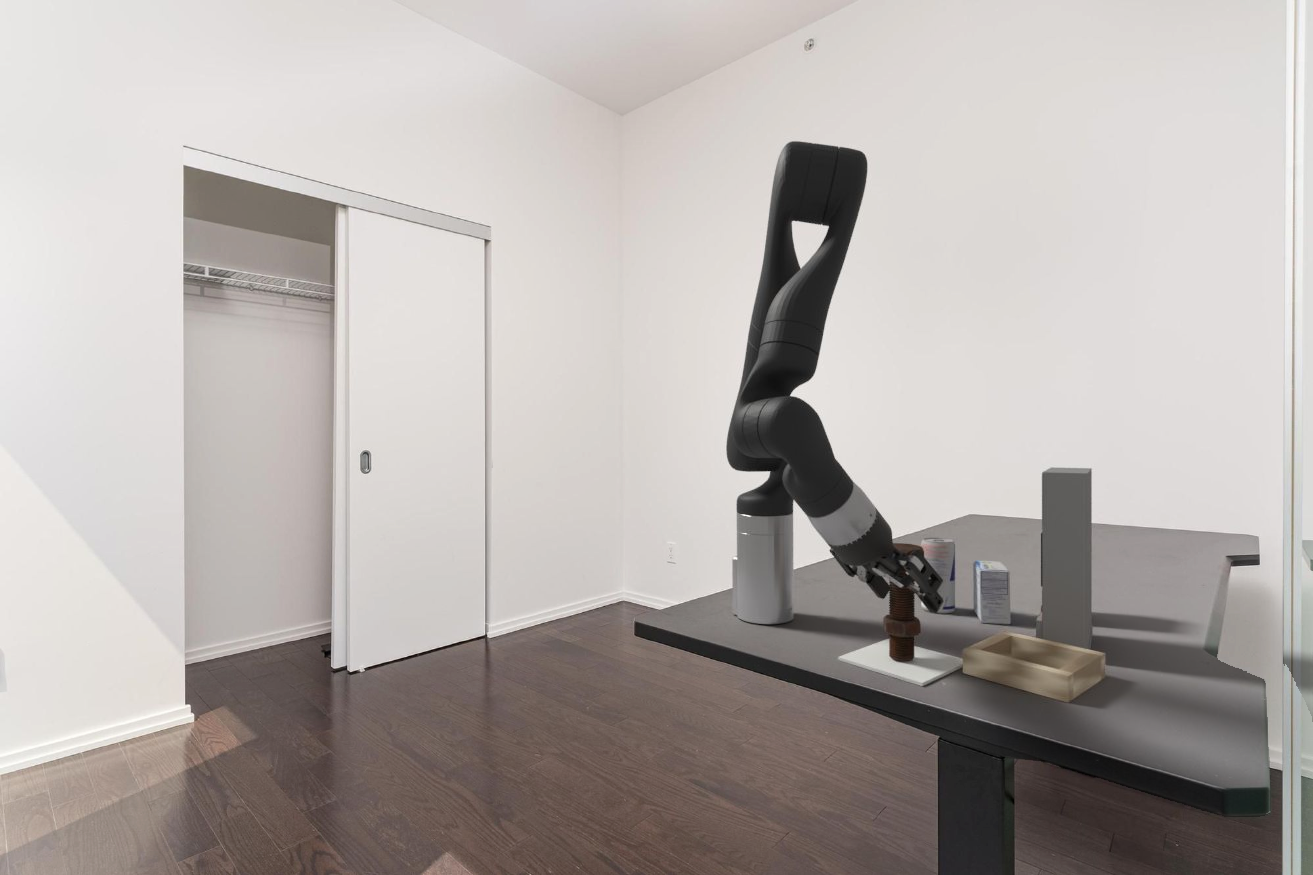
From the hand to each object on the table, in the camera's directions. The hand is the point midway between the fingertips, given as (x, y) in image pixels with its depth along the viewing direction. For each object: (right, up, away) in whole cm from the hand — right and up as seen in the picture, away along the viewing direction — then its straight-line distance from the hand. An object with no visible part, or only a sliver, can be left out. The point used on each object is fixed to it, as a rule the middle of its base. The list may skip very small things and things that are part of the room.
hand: (910, 600), depth 89 cm
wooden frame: (+13, -8, -6) cm, 16 cm away
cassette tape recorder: (+24, -8, +6) cm, 26 cm away
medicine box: (+21, -8, +20) cm, 30 cm away
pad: (-1, -8, -1) cm, 8 cm away
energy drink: (+14, -8, +25) cm, 30 cm away
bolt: (-1, -8, -1) cm, 8 cm away
